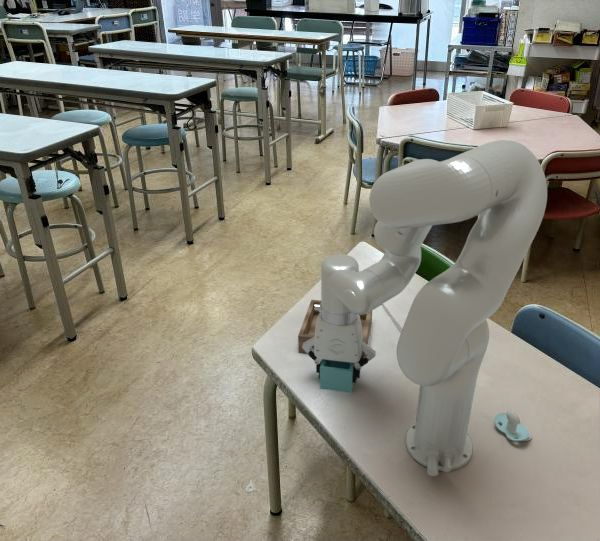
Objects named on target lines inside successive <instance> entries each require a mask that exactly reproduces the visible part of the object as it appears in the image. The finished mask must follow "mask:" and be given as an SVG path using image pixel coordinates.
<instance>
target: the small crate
mask: <svg viewBox="0 0 600 541" xmlns="http://www.w3.org/2000/svg"><path fill="white" fill-rule="evenodd" d="M353 368H354V364H353V363H351V362H342V361H334V360H326V359H322V362H321V366H320V379H319V389H320V390H327V391H335V392H341V393H349V394H351V393H352V392H353V387H354V383H353Z"/></svg>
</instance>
